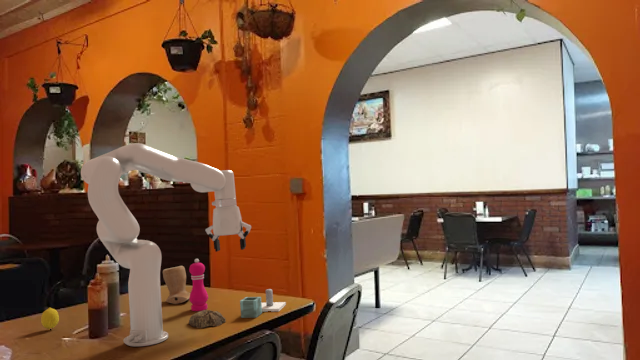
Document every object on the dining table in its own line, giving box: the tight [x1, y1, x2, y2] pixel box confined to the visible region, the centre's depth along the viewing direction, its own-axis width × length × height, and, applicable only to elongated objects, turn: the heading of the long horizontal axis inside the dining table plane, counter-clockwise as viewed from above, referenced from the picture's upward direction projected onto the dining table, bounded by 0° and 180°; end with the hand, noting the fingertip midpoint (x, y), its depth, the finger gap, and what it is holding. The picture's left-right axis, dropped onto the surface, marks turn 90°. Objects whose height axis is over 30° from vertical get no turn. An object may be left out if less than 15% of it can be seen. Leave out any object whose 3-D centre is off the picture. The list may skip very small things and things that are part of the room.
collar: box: [239, 296, 263, 319], centre depth 172 cm, size 6×6×6 cm
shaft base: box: [261, 288, 287, 313], centre depth 181 cm, size 10×10×7 cm
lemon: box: [40, 307, 60, 330], centre depth 169 cm, size 6×6×8 cm
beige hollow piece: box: [162, 265, 191, 305], centre depth 204 cm, size 15×12×15 cm
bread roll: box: [188, 309, 227, 329], centre depth 166 cm, size 13×12×5 cm
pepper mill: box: [188, 258, 209, 312], centre depth 187 cm, size 7×7×20 cm
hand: (230, 250), depth 174 cm, fingers open, 9 cm apart
